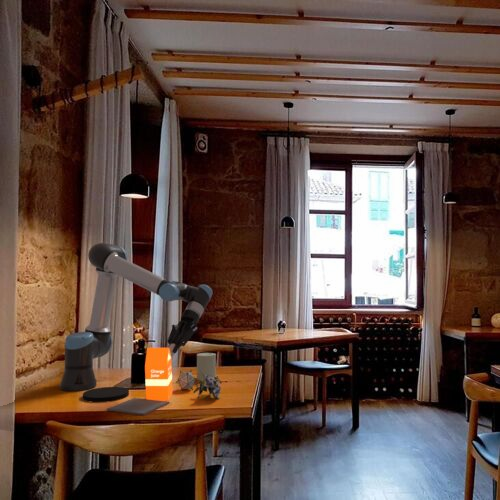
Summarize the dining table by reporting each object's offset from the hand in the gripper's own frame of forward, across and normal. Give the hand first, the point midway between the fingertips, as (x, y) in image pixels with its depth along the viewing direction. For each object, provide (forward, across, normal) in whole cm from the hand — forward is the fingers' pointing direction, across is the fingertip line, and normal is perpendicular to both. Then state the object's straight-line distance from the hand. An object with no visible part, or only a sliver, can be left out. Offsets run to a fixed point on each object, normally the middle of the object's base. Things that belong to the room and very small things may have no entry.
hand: (167, 358), depth 181 cm
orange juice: (+13, +1, -8) cm, 15 cm away
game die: (+2, +1, -20) cm, 20 cm away
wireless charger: (+19, +22, -2) cm, 29 cm away
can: (-13, +6, -35) cm, 38 cm away
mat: (+22, -1, +1) cm, 22 cm away
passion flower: (+7, -15, -15) cm, 23 cm away
